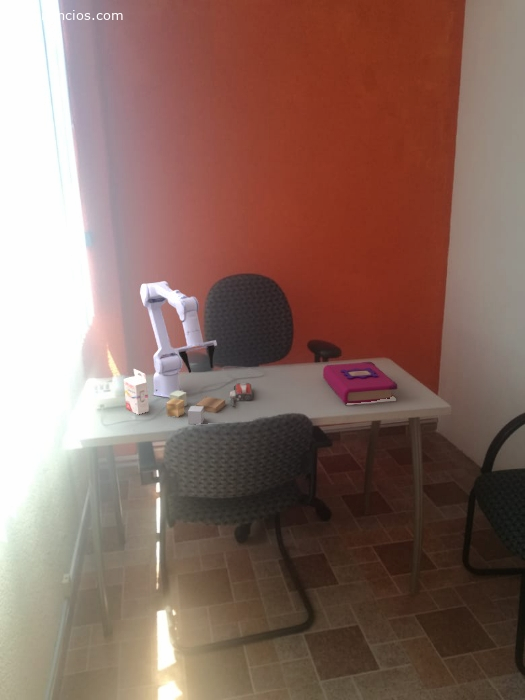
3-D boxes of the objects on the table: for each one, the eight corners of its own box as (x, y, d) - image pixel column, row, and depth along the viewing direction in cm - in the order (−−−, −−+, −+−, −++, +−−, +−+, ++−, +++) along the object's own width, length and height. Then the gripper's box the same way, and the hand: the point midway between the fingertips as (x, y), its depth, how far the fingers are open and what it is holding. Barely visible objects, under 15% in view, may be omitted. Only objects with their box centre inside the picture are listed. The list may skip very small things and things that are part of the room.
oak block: (167, 415, 198) (166, 402, 197) (173, 411, 202) (172, 398, 201) (178, 417, 197) (177, 404, 195) (184, 412, 201) (183, 400, 199)
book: (344, 407, 205) (345, 388, 203) (322, 380, 231) (323, 363, 229) (397, 402, 209) (399, 384, 206) (370, 377, 235) (371, 360, 233)
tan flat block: (196, 410, 203) (195, 404, 202) (206, 402, 210) (206, 396, 209) (215, 414, 200) (215, 407, 200) (225, 405, 207) (225, 399, 207)
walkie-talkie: (229, 389, 223) (230, 409, 204) (229, 379, 221) (229, 398, 202) (251, 388, 223) (254, 409, 204) (251, 378, 222) (254, 397, 203)
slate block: (188, 424, 191) (187, 411, 190) (191, 418, 196) (191, 405, 194) (201, 424, 191) (200, 411, 189) (204, 419, 195) (203, 406, 194)
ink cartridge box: (125, 408, 204) (122, 371, 200) (137, 404, 208) (133, 367, 203) (138, 415, 199) (134, 377, 194) (149, 411, 202) (146, 373, 197)
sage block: (169, 406, 206) (169, 394, 205) (177, 402, 210) (177, 390, 208) (179, 409, 204) (178, 396, 202) (187, 405, 207) (186, 392, 206)
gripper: (172, 335, 188) (181, 374, 188) (214, 327, 191) (222, 365, 191) (171, 336, 194) (179, 374, 195) (212, 328, 197) (219, 365, 198)
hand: (200, 370), depth 193 cm, fingers open, 7 cm apart
